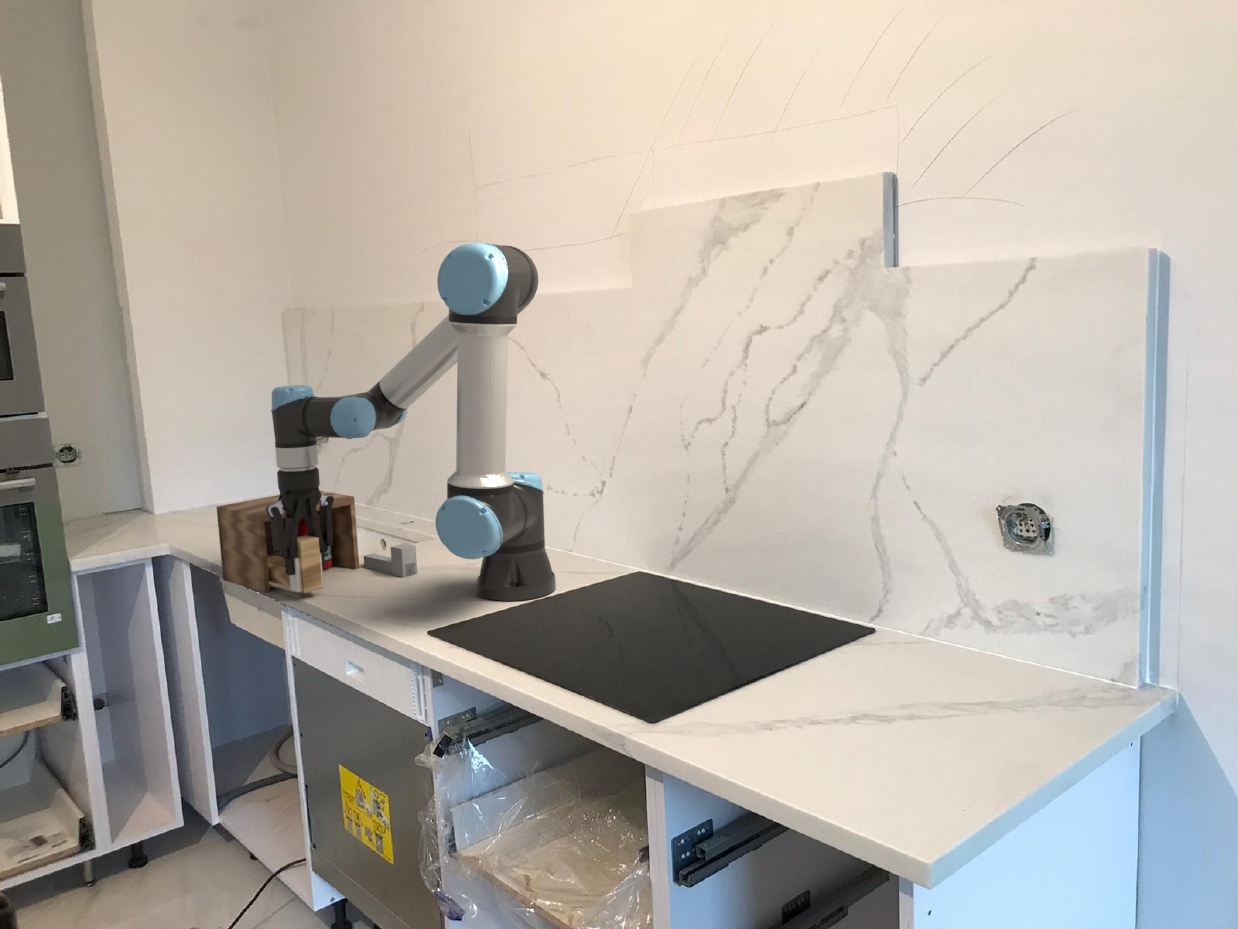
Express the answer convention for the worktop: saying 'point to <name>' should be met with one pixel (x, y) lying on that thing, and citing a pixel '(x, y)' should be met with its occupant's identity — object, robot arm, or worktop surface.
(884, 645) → the worktop surface
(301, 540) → the crook tool
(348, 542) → the shelf
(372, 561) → the grey hooked tool
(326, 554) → the beverage can
